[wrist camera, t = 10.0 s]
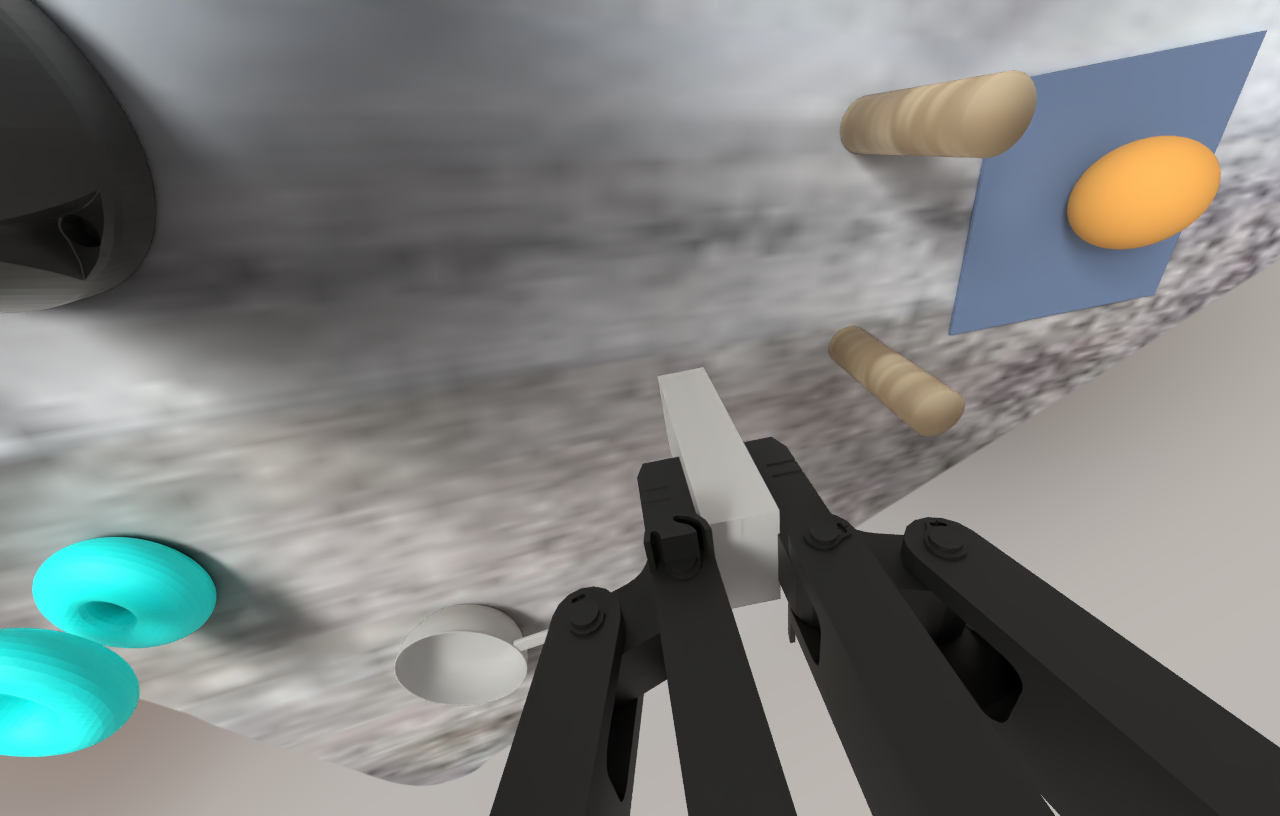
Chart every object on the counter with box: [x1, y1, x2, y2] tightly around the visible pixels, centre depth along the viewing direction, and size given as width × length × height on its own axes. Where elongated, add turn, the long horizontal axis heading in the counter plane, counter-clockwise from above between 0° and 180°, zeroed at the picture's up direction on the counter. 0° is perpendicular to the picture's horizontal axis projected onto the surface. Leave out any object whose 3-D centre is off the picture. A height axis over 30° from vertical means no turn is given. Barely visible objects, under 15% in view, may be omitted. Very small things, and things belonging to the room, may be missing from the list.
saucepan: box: [394, 604, 548, 706], centre depth 39 cm, size 11×18×4 cm, turn 115°
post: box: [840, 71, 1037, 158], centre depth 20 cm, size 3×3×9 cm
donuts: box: [0, 537, 216, 757], centre depth 30 cm, size 10×10×10 cm
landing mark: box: [949, 31, 1267, 335], centre depth 27 cm, size 14×14×1 cm
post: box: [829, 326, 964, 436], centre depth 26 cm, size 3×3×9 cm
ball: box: [1067, 136, 1221, 249], centre depth 24 cm, size 6×6×6 cm
